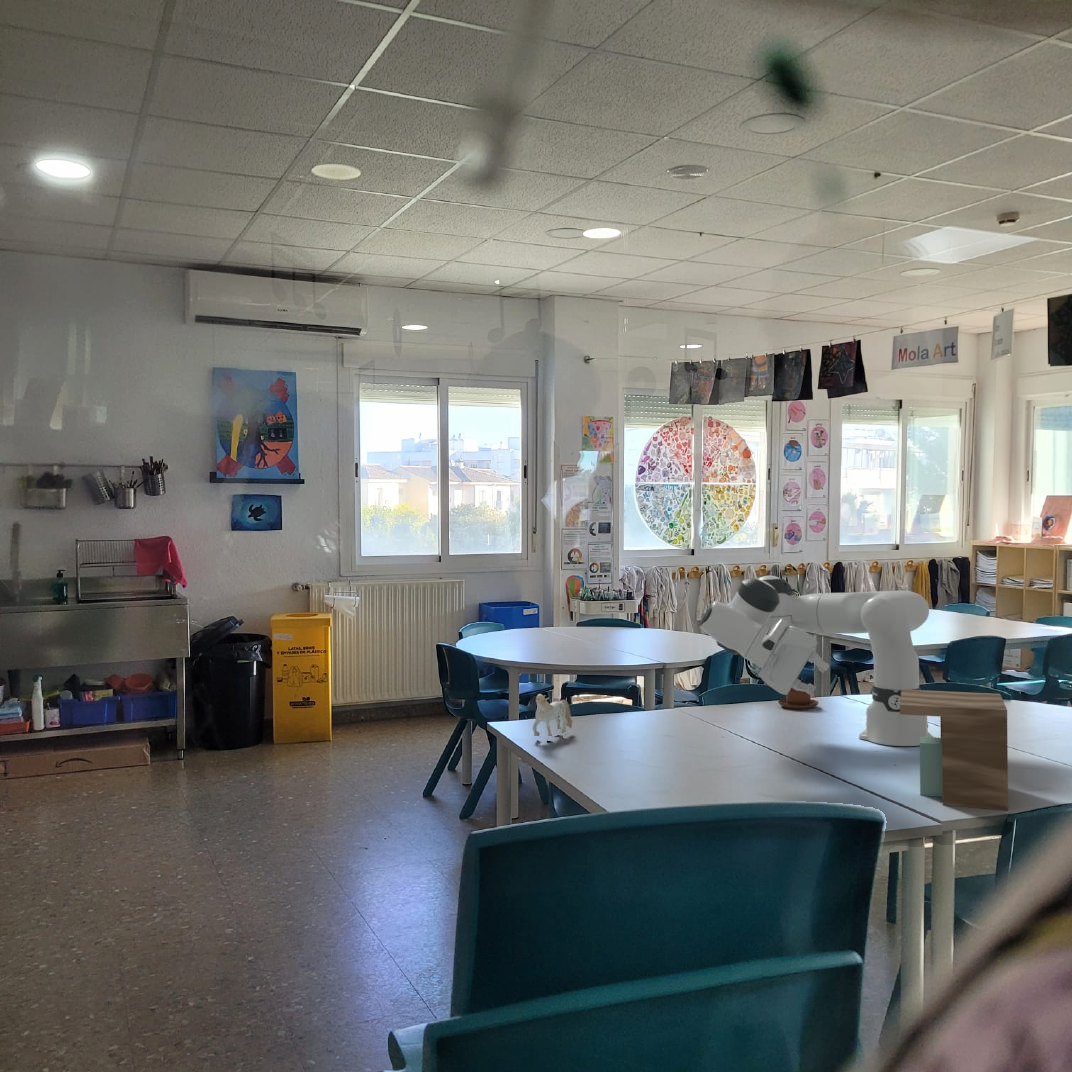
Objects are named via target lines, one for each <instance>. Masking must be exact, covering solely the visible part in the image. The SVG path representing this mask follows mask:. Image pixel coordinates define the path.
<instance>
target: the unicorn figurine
mask: <svg viewBox="0 0 1072 1072" xmlns="http://www.w3.org/2000/svg"><path fill="white" fill-rule="evenodd" d="M546 696H547V695H545V694H544V695H543V694H542V693H537V695H536V697H535V703H536V706H537V708H536V710H535V716H534V717H535V721H534V723H533V726H532V731H533V737H534V736H539V735H541V734H540V732H539V731H538V730H537V728H538V725H539V724H540V723H541V722H545V726H546V729H547V734H548V735H547V736H552V737H553V734H552V732H551V726H550V722H551V721H553V720H554V721H555V722H556V725H557V727H556V730H557V729H561V731H560V732H561V733H564V732H567V727H568V728H570V729H573V728H572V726H573V723H574V722H573V719H572V718H573V717H572V715H571V710H570V705H569V702H568V701H567V700H566V699H562V700H560V701H552V702H551V703H549V702H548V700H549V699H550V697H546ZM545 697H546V698H545ZM561 721H562V722H563V723H562V727H561Z"/></svg>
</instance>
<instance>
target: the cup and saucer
mask: <svg viewBox="0 0 1072 1072" xmlns="http://www.w3.org/2000/svg"><path fill="white" fill-rule="evenodd" d="M777 702H778V704H779V705H780V706H781V707H783V708H784V707H785V708H786V709H792V710H808V709H813V708H815V707H817V706H818V705H819V701H818V700H815V699H812V700H811V695H810V694H808V693H806V692H805V691H797V690H795V689H793V688H791V689H790V691H789V693H788V694H787V695H785V698H782V699H781V698H780V699H779V700H778V701H777Z"/></svg>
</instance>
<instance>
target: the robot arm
mask: <svg viewBox="0 0 1072 1072" xmlns="http://www.w3.org/2000/svg"><path fill="white" fill-rule="evenodd" d="M793 592H797V589H796V588H792V586H791V584H790V583H789V581H787V580H785V579H784V578H782V577H778V576H775V575H764V576H760V577H758V578H756V577H749V578H747V579H744V580H742V581H741V583H740V585H739V587H738V588H737V591H736V593H735V595H734V597H733V598H732V600H731V601H730V602H728V603H724V602H721V601H718V600H713V601H712V602H711V603H710V604H709V606H708V607H707V608H706V610H705V612H704V613H703V615H702V618H701V619H700V622H699V628H700V629H701V630H702V631H703V632H704V633H706V634H707V635H708V636H709V637H711V638H712V639H714V641H715V642H716V645H717V646H718V647H720V648H722V649H723V650H725V651H726V652H728V653H730V654H732V655H735V656H738V655H740V656H741V657H743V659H745V660H747V661H749V662H751V663H752V664H754V665H756V666H755V671H756V673H757V675H758V677H759V678H761V680H762V681H763V682H764V683H765V684H766V685H768V686H769V687H770V688H772V689H773V690H775V691H776V692H778V693H779V694H781V695H785V696H786V695H787V694H788V693H789V691H790V689H791V688H793V689H795V690H797V691H805V692H806V693H808V694H810V696H811V695H813V693H814V692H815V690H816V689H817V688H816V685H813V684H812V683H810V682H808V683H805V682H802V680H801V679H799V676H800V674H801V672H802V670H803V669H804V667H805V666H806V664H807V662H809V663H811V664H813V663H814V665H815V666H816V667H818V668H817V670H818V671H819V672H821V673H823V674H826V672H828V669H829V668H830V664H829V663H827V662H826V661H824V660H823V658H821V656H820V655H819V654H818V653H817V652H815V651H814V650H815V648H816V646H818V641H817V639H816V638H815V637H814V636H813V635H811V634H809V633H815V634H818V633H819V634H851V635H853V634H868V637H869V641H870V642H869V643H870V646H871V650H872V651H871V652H872V656H873V658H872V659H873V685H872V687H871V688H872V689H871V695H872V698H871V699H872V702H871V703H870V704H869V705H868V706H867V707H866V711H865V713H866V714H865V715H866V719H865V720H866V722H865V725H866V726H865V727H866V728H865V729H864V730H863V731H862V732H860V733H859V734H858V739H860V740H865V741H869V742H872V743H875V744H880V745H885V746H892V747H893V746H895V747H916V746H920V737H934V736H933V735H932V734H931V733H930V732H929V730H928V728H929V723H928V716H920V715H902V714H900V699H901V690H902V689H904V690H922V689H921V687H920V659H919V658H920V657H919V656H918V654H917V653H916V651H915V648H914V644H913V640H912V635H911V634H912V633H911V632H913V631H915V630H918V629H919V628H920V627H922V626H923V625H924V624H925V622H926V621H927V620H928V619H929V616H930V606H929V603H928V601H927V599H926V598H924V596H922V595H921V594H920V593H917V592H914V591H911V590H907V589H905V590H904V589H903V590H877V591H873V590H872V591H858V592H857V591H854V592H852V591H851V592H818V593H810V594H803V595H797V596H795V595H793V594H792V593H793ZM808 632H809V633H808Z"/></svg>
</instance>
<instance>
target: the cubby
mask: <svg viewBox="0 0 1072 1072" xmlns="http://www.w3.org/2000/svg"><path fill="white" fill-rule="evenodd" d="M900 714H902V715H920V716H927V717H940V720H939V721H940V738H942V805H943V806H948V807H949V806H951V807H953V806H954V807H960V808H961V807H963V808H976V809H984V810H985V809H987V810H998V811H999V810H1001V811H1009V792H1008V791H1009V785H1008V784H1009V782H1008V781H1009V779H1008V777H1009V773H1008V772H1009V769H1008V768H1009V767H1008V764H1009V763H1008V761H1009V759H1008V756H1009V755H1008V708H1007V706H1006V704H1005V701H1004V699H1003V697H1002V695H1001V693H989V692H988V693H987V692H969V691H968V692H965V691H944V690H923V689H921V690H904V689H902V690H901V699H900Z"/></svg>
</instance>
